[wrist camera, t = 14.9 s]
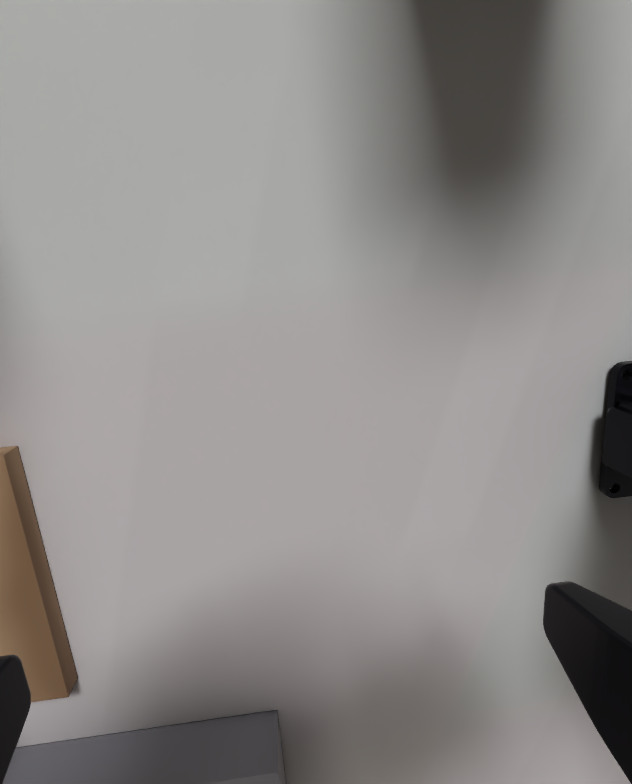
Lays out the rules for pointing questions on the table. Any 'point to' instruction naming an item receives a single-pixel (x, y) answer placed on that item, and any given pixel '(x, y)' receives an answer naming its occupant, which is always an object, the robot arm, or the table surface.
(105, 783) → the tray
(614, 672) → the robot arm
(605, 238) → the table surface
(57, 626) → the pad
